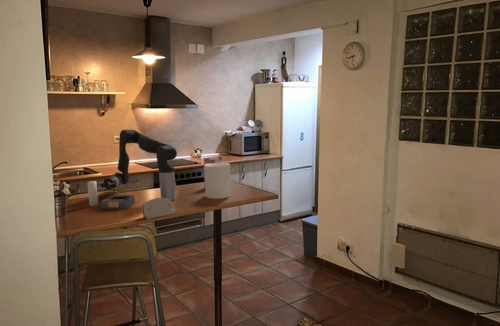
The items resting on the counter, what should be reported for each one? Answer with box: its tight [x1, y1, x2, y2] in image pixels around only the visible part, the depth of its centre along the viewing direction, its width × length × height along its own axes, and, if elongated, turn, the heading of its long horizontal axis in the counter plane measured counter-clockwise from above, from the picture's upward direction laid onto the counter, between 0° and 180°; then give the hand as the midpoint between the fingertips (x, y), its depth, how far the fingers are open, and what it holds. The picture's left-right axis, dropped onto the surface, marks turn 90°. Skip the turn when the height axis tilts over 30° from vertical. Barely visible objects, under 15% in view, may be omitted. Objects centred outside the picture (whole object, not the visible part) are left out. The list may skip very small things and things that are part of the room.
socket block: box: [100, 194, 136, 210], centre depth 236 cm, size 14×14×5 cm
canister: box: [203, 162, 232, 200], centre depth 254 cm, size 16×16×20 cm
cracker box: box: [203, 155, 223, 182], centre depth 285 cm, size 14×6×21 cm, turn 147°
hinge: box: [142, 197, 176, 220], centre depth 214 cm, size 17×5×10 cm, turn 125°
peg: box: [87, 180, 99, 207], centre depth 240 cm, size 5×5×14 cm
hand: (100, 187), depth 251 cm, fingers open, 8 cm apart
